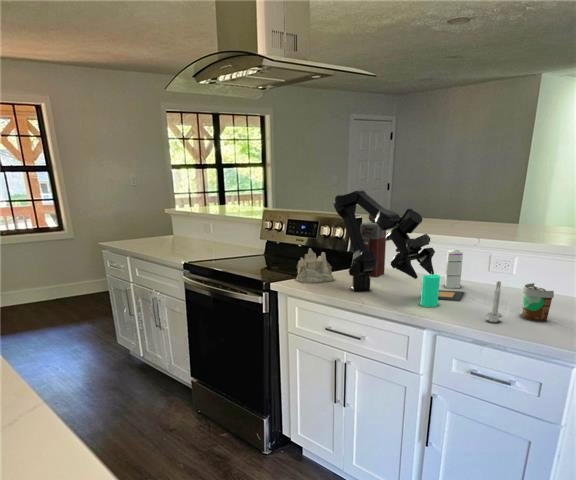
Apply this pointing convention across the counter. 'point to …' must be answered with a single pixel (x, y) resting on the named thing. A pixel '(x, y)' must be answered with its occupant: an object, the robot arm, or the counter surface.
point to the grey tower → (453, 268)
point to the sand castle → (314, 268)
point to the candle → (430, 290)
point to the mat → (450, 295)
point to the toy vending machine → (375, 244)
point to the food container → (536, 302)
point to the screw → (495, 305)
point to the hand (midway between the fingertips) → (425, 276)
